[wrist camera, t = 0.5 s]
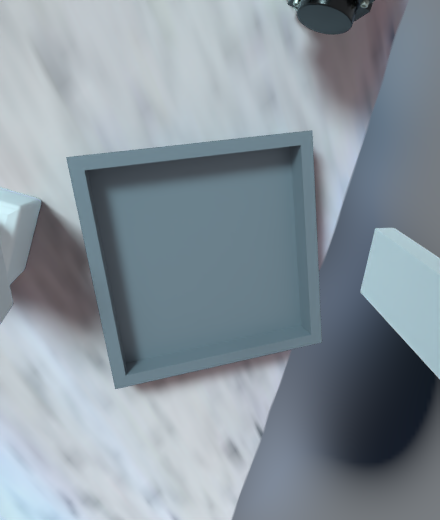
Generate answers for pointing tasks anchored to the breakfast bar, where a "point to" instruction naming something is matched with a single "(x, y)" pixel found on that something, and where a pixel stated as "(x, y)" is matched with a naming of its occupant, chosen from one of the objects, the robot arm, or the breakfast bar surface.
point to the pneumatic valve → (330, 14)
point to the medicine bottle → (17, 229)
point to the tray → (201, 252)
